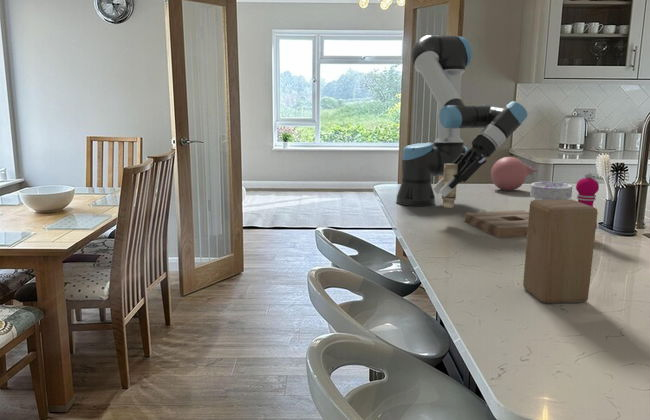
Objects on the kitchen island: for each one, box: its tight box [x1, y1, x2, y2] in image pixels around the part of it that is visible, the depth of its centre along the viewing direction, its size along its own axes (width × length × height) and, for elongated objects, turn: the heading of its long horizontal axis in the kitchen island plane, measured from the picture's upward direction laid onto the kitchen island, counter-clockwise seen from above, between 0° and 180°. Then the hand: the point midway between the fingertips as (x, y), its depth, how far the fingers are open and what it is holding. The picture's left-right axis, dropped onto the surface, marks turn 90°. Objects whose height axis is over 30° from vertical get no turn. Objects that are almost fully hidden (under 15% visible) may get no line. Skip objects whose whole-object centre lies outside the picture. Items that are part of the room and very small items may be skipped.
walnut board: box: [464, 209, 529, 239], centre depth 174 cm, size 22×22×3 cm
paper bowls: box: [529, 181, 573, 200], centre depth 214 cm, size 15×15×8 cm
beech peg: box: [441, 164, 458, 208], centre depth 177 cm, size 4×4×14 cm
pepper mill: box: [575, 172, 600, 229], centre depth 158 cm, size 7×7×20 cm
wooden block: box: [522, 198, 598, 304], centre depth 112 cm, size 10×10×20 cm
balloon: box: [490, 156, 538, 192], centre depth 243 cm, size 15×20×15 cm
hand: (438, 192), depth 176 cm, fingers closed on beech peg, 4 cm apart
